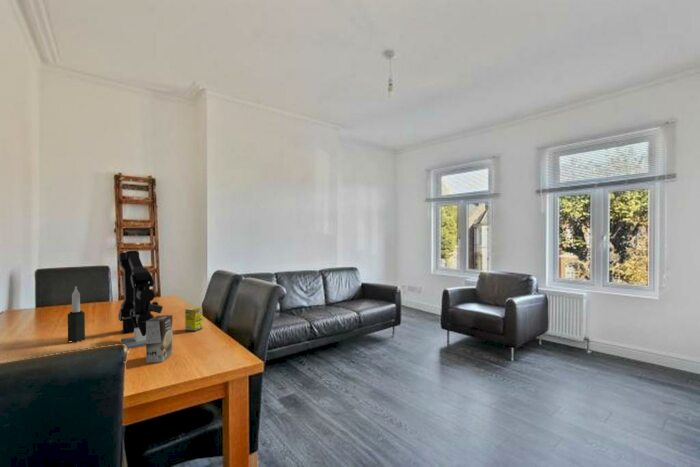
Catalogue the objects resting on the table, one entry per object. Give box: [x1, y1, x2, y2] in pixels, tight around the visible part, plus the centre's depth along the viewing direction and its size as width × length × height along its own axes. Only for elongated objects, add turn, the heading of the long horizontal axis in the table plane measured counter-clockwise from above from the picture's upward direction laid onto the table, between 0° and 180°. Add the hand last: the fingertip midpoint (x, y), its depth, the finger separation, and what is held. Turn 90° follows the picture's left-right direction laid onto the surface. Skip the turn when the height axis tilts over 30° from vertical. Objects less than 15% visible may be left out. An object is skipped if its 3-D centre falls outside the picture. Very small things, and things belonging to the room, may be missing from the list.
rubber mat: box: [120, 336, 146, 350], centre depth 159 cm, size 14×14×1 cm
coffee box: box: [145, 314, 174, 364], centre depth 139 cm, size 9×6×16 cm
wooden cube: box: [133, 327, 146, 342], centre depth 159 cm, size 5×5×5 cm
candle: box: [67, 286, 86, 343], centre depth 161 cm, size 5×5×25 cm
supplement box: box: [184, 306, 203, 333], centre depth 178 cm, size 6×6×11 cm
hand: (141, 333), depth 159 cm, fingers open, 9 cm apart
